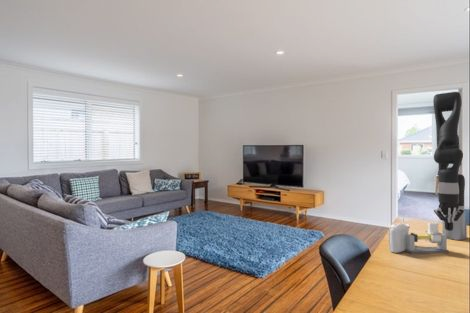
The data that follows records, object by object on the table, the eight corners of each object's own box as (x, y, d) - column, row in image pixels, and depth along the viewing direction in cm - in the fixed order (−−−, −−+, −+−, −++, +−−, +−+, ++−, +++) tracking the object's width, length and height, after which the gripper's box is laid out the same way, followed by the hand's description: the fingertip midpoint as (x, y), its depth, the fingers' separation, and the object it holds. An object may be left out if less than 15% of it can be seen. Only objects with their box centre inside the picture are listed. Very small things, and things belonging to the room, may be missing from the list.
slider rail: (439, 248, 132) (439, 231, 132) (448, 252, 127) (448, 234, 127) (404, 250, 131) (404, 232, 131) (411, 253, 126) (411, 235, 126)
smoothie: (404, 247, 135) (404, 218, 135) (391, 244, 140) (391, 215, 140) (412, 245, 138) (412, 216, 138) (400, 241, 143) (399, 214, 143)
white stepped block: (433, 239, 132) (433, 221, 132) (441, 242, 127) (441, 224, 127) (425, 240, 132) (425, 222, 132) (432, 243, 127) (432, 224, 127)
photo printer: (399, 247, 135) (398, 221, 136) (409, 249, 132) (408, 222, 132) (388, 251, 130) (386, 224, 130) (397, 254, 126) (396, 225, 126)
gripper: (455, 191, 134) (455, 227, 134) (428, 191, 133) (428, 228, 133) (469, 193, 127) (470, 232, 127) (441, 193, 126) (441, 232, 126)
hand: (448, 230), depth 130 cm, fingers closed
